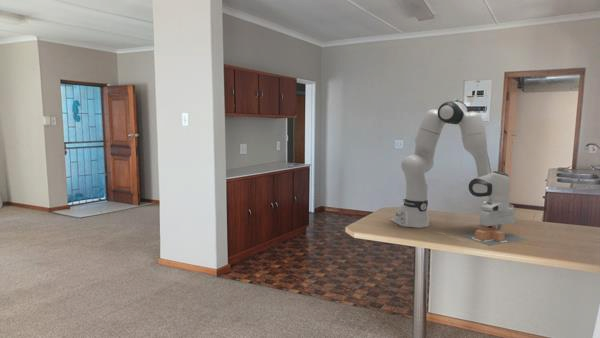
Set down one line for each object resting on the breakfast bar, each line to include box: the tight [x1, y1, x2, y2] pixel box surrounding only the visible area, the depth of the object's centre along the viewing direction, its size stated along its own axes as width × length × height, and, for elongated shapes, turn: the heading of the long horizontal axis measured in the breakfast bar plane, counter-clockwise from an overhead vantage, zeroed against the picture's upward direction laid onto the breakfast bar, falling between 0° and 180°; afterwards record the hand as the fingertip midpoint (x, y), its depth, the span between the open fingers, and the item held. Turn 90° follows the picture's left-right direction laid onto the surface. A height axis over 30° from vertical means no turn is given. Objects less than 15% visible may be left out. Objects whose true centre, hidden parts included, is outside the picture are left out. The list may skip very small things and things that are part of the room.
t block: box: [474, 225, 506, 242], centre depth 194 cm, size 12×10×4 cm
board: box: [458, 232, 526, 246], centre depth 197 cm, size 18×25×1 cm
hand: (497, 233), depth 197 cm, fingers closed
